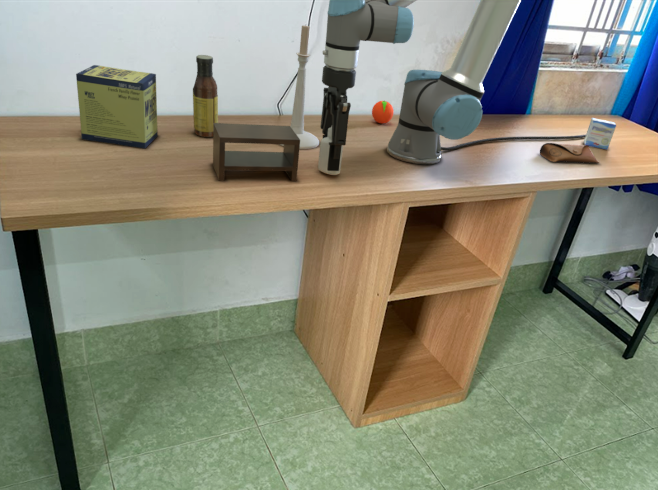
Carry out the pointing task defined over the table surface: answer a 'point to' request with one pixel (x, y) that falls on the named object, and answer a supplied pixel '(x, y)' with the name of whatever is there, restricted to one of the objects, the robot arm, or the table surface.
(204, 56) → the sauce bottle
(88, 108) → the protein box
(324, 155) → the eye dropper bottle
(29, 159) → the table surface
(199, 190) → the table surface
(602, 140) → the medicine box
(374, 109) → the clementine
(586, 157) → the sunglasses case
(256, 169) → the dark brown wooden stand
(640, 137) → the table surface
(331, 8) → the robot arm
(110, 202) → the table surface
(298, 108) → the candlestick
